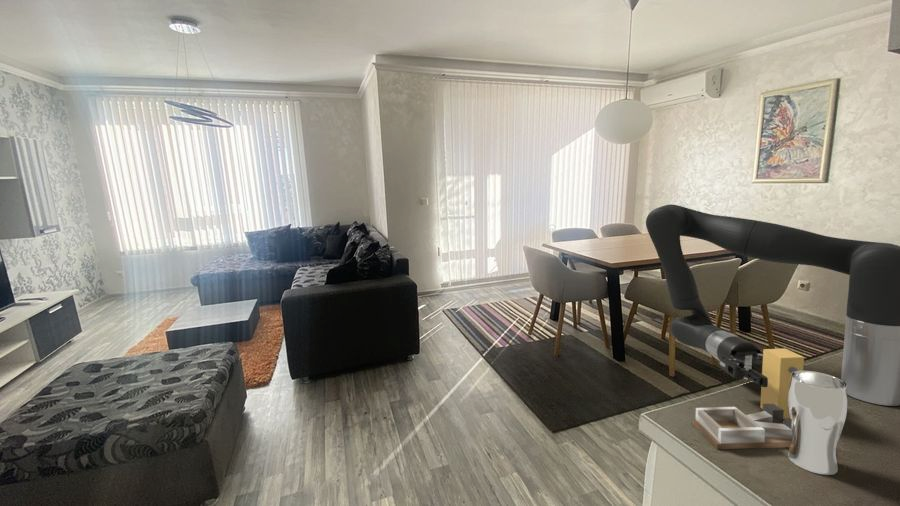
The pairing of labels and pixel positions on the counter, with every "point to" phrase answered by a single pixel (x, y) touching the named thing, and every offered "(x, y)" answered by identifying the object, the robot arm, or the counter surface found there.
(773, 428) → the coupling board
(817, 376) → the beer glass
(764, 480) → the counter surface
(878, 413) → the counter surface
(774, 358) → the yellow knobbed block
